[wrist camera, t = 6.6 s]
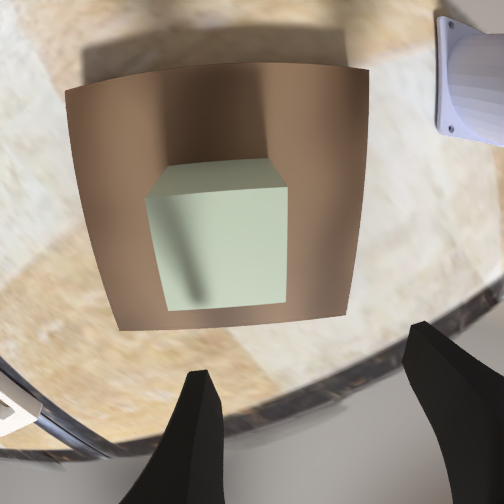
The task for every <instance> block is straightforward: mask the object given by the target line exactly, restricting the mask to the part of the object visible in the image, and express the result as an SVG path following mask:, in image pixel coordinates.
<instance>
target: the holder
mask: <svg viewBox="0 0 504 504" xmlns="http://www.w3.org/2000/svg"><path fill="white" fill-rule="evenodd" d="M0 399H1V400H2V401H3V402H5V403H6V404H7V405H8V406H10V407H5V406H3V405H2V404H1V403H0V437H2V436H4V435H6V434H9V433H11V432H13V431H15V430H17V429H19V428H22V427H24V426H26V425H28V424H30V423H32V422H34V421H36V420H38V417H39V414H40V411H41V409H42V406H43V404H42V403H41V402H39V401H38V400H36V399H35V398H34V397H32V396H31V395H30V394H28V393H27V392H26V391H24V390H23V389H22V388H21V387H19V386H18V385H17V384H15V383H14V382H13V381H12V380H11V379H9V378H8V377H7V376H6V375H5V374H3V373H2V372H1V371H0Z"/></svg>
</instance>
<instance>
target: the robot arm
mask: <svg viewBox="0 0 504 504" xmlns="http://www.w3.org/2000/svg"><path fill="white" fill-rule="evenodd" d="M449 23H450V25H451V28H450V26H449ZM437 34H438V57H439V92H438V116H437V130H438V132H439V133H440V134H442V135H444V136H450V137H456V138H462V139H467V140H472V141H477V142H482V143H487V144H492V145H496V146H500V147H504V34H485V33H482V32H480V31H478V30H476V29H474V28H472V27H470V26H467V25H465V24H463V23H461V22H458V21H456V20H453V19H451V18H448V17H446V16H439V17H438V18H437ZM449 126H451V129H450V131H449ZM402 364H403V366H404V369H405V372H406V375H407V377H408V380H409V382H410V385H411V387H412V389H413V391H414V392H415V394H416V396H417V398H418V400H419V402H420V404H421V406H422V408H423V410H424V412H425V414H426V416H427V418H428V420H429V422H430V424H431V426H432V427H433V430H434V432H435V434H436V437H437V440H438V442H439V445H440V448H441V451H442V455H443V458H444V462H445V465H446V469H447V473H448V477H449V482H450V487H451V492H452V499H453V504H504V376H502V375H500V374H499V373H497V372H495V371H494V370H492V369H491V368H489V367H488V366H486V365H485V364H483V363H482V362H480V361H478V360H477V359H475V358H474V357H473V356H471V355H470V354H469V353H467V352H466V351H465V350H463V349H462V348H460V347H459V346H458V345H457V344H455V343H454V342H453V341H451V340H450V339H449V338H447V337H446V336H445V335H443V334H442V333H441V332H440V331H438V330H437V329H436V328H434V327H433V326H432V325H430V324H429V323H427V322H426V321H423V322H419V323H416V324H413V325H411V328H410V332H409V336H408V340H407V344H406V348H405V352H404V356H403V359H402ZM223 450H224V425H223V414H222V405H221V400H220V398H219V396H218V394H217V391H216V389H215V387H214V385H213V382H212V380H211V378H210V375H209V373H208V371H207V370H199V371H191V372H189V373H188V374H187V377H186V380H185V383H184V386H183V388H182V391H181V394H180V396H179V399H178V402H177V404H176V407H175V409H174V411H173V414H172V416H171V418H170V420H169V423H168V425H167V427H166V429H165V432H164V434H163V436H162V437H161V439H160V441H159V443H158V445H157V447H156V449H155V451H154V453H153V455H152V457H151V458H150V460H149V462H148V463H147V465H146V467H145V469H144V470H143V471H142V473H141V475H140V476H139V478H138V479H137V481H136V482H135V483H134V485H133V486H132V488H131V489H130V490H129V492H128V493H127V494H126V496H125V497H124V498H123V499H122V500H121V502H120V503H119V504H225V500H224V491H223Z"/></svg>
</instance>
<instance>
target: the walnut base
mask: <svg viewBox="0 0 504 504" xmlns="http://www.w3.org/2000/svg"><path fill="white" fill-rule="evenodd" d="M65 101H66V111H67V120H68V129H69V136H70V144H71V150H72V157H73V163H74V168H75V174H76V179H77V185H78V190H79V194H80V199H81V204H82V208H83V213H84V217H85V221H86V225H87V229H88V233H89V237H90V241H91V244H92V248H93V252H94V255H95V259H96V262H97V266H98V269H99V272H100V275H101V279H102V282H103V285H104V288H105V291H106V294H107V297H108V300H109V303H110V306H111V309H112V311H113V314H114V317H115V320H116V322H117V325H118V328H119V330H120V331H144V330H179V329H201V328H218V327H234V326H247V325H260V324H271V323H282V322H292V321H301V320H311V319H319V318H328V317H336V316H343V315H346V310H347V305H348V299H349V294H350V288H351V282H352V276H353V270H354V264H355V257H356V250H357V243H358V236H359V228H360V220H361V211H362V202H363V192H364V181H365V169H366V155H367V139H368V116H369V70H366V69H359V68H351V67H342V66H331V65H319V64H303V63H228V64H212V65H199V66H189V67H180V68H172V69H164V70H158V71H151V72H145V73H139V74H133V75H128V76H123V77H118V78H113V79H109V80H104V81H100V82H96V83H92V84H88V85H84V86H80V87H77V88H73V89H69V90H66V91H65ZM259 158H268V159H269V160H270V162H271V163H272V164H273V166H274V167H275V169H276V170H277V172H278V173H279V175H280V176H281V178H282V179H283V181H284V182H285V184H286V185H287V187H288V222H287V279H286V302H284V303H273V304H262V305H250V306H238V307H225V308H211V309H195V310H178V311H168V308H167V304H166V300H165V296H164V292H163V287H162V283H161V279H160V274H159V270H158V265H157V260H156V256H155V251H154V246H153V241H152V236H151V231H150V225H149V220H148V214H147V209H146V203H145V197H146V196H147V194H148V193H149V192H150V190H151V189H152V187H153V186H154V184H155V183H156V182H157V180H158V179H159V177H160V176H161V175H162V173H163V172H164V170H165V169H166V168H167V166H172V165H181V164H191V163H201V162H213V161H226V160H241V159H259Z"/></svg>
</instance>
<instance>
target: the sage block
mask: <svg viewBox="0 0 504 504" xmlns="http://www.w3.org/2000/svg"><path fill="white" fill-rule="evenodd" d="M145 203H146V209H147V214H148V220H149V225H150V231H151V236H152V241H153V246H154V251H155V256H156V260H157V265H158V270H159V274H160V279H161V283H162V287H163V292H164V296H165V300H166V304H167V308H168V311H178V310H195V309H211V308H225V307H238V306H250V305H262V304H273V303H284V302H286V279H287V222H288V187H287V185H286V184H285V182H284V181H283V179H282V178H281V176H280V175H279V173H278V172H277V170H276V169H275V167H274V166H273V164H272V163H271V162H270V160H269V159H268V158H259V159H241V160H226V161H213V162H201V163H191V164H181V165H172V166H167V168H166V169H165V170H164V172H163V173H162V175H161V176H160V177H159V179H158V180H157V182H156V183H155V184H154V186H153V187H152V189H151V190H150V192H149V193H148V194H147V196H146V197H145Z"/></svg>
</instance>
